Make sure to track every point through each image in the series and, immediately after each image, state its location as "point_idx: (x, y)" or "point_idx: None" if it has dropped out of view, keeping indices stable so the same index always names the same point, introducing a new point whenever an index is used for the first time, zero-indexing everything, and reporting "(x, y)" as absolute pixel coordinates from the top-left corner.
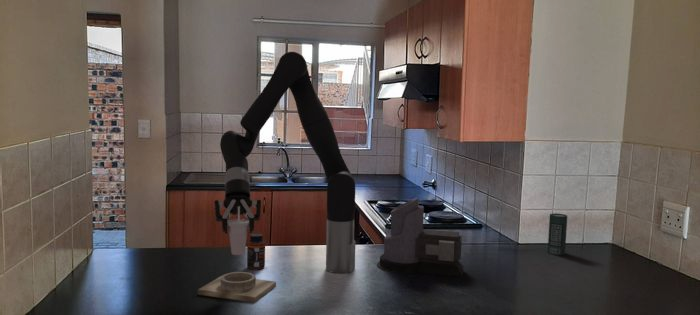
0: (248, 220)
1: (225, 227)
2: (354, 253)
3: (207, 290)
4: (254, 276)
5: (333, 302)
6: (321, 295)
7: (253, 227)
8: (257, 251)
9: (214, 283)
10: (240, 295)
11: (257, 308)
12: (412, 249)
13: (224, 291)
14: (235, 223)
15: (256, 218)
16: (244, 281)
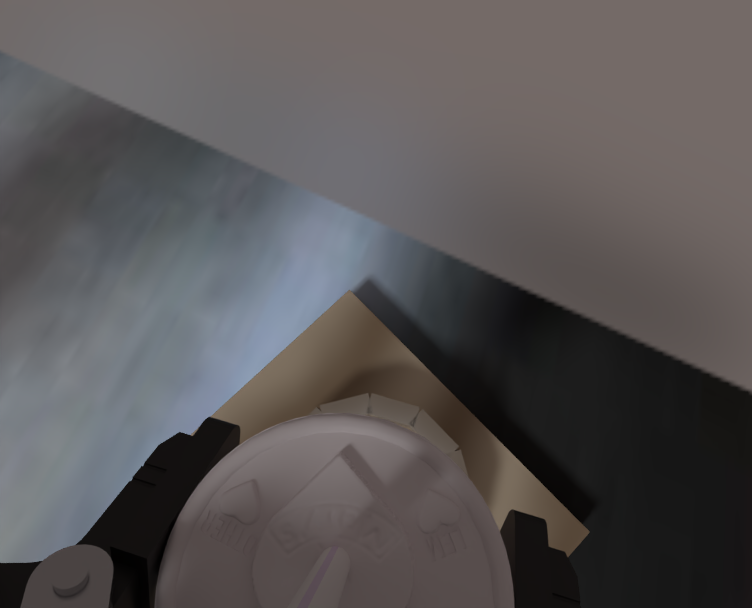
0: (170, 559)
1: (539, 541)
2: None
3: (543, 491)
4: None
5: (59, 158)
6: (50, 249)
7: (174, 440)
8: None
9: None
10: (404, 345)
11: (367, 229)
12: None
13: (463, 433)
14: (425, 442)
15: (13, 575)
16: (359, 405)
